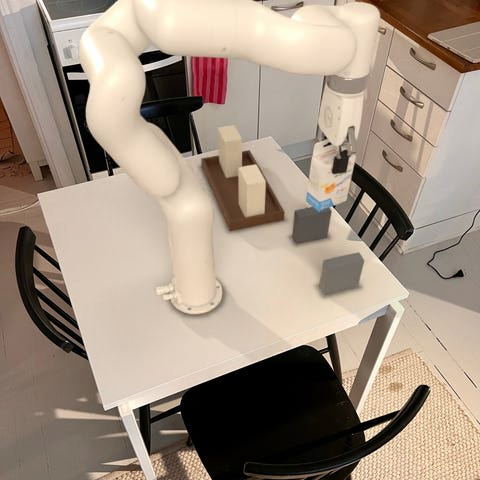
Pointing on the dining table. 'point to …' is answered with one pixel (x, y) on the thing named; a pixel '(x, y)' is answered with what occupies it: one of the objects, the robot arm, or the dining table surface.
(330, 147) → the ink box
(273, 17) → the robot arm
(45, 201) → the dining table surface
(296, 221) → the gray bookends
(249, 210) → the white books
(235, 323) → the dining table surface
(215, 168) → the book tray
